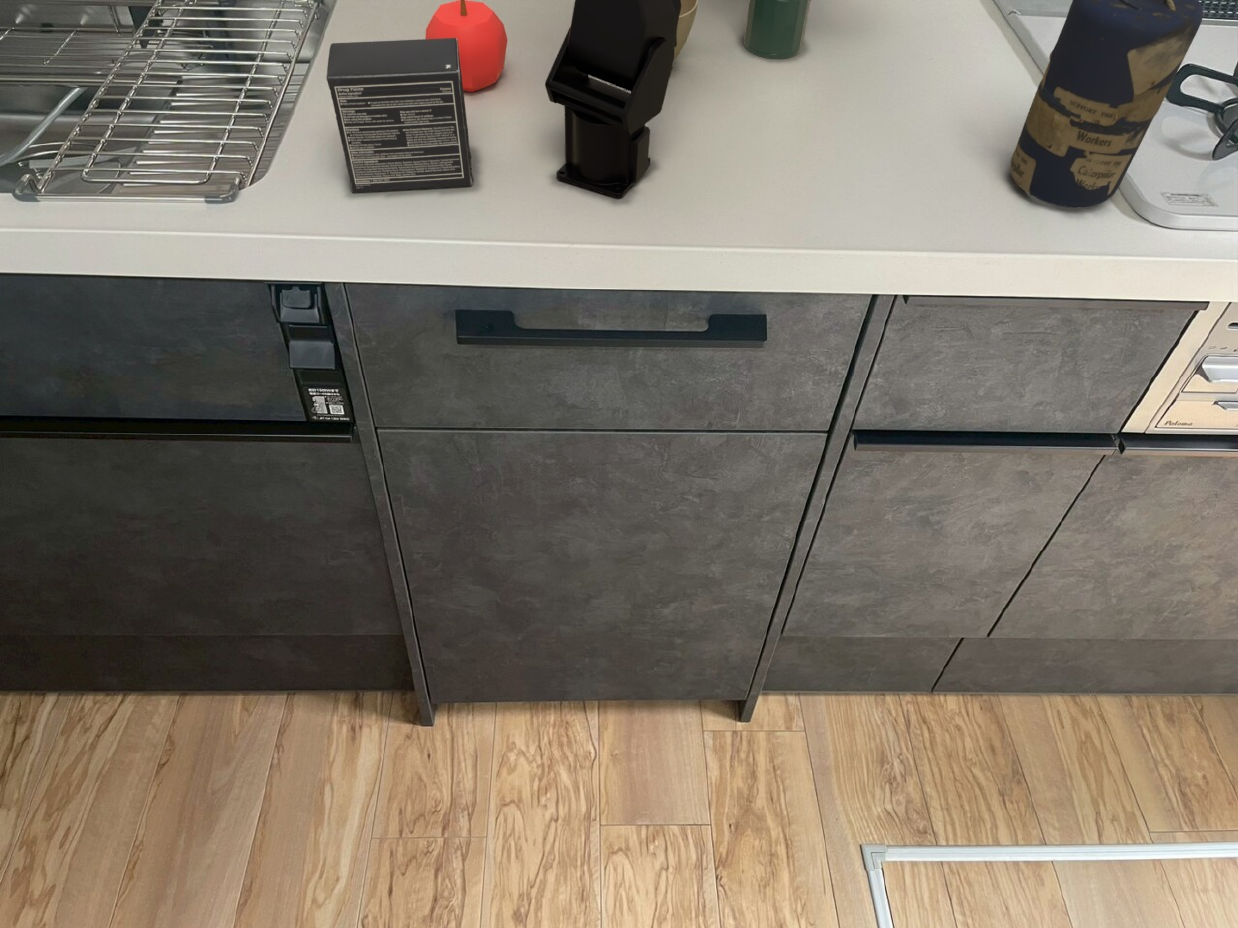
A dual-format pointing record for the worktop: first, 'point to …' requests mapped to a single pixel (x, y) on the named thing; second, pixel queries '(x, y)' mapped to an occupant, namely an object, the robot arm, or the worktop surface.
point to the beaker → (776, 27)
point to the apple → (472, 40)
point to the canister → (1100, 96)
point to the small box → (401, 113)
